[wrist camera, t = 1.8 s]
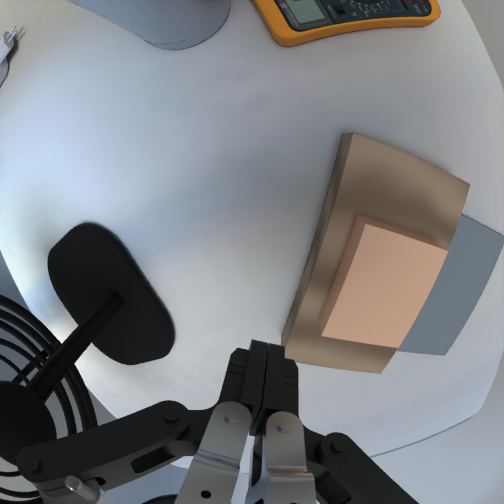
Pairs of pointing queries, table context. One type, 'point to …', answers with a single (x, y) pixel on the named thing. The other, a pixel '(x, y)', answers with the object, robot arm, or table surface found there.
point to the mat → (455, 289)
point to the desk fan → (77, 339)
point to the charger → (5, 52)
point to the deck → (339, 230)
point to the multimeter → (340, 16)
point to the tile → (380, 284)
